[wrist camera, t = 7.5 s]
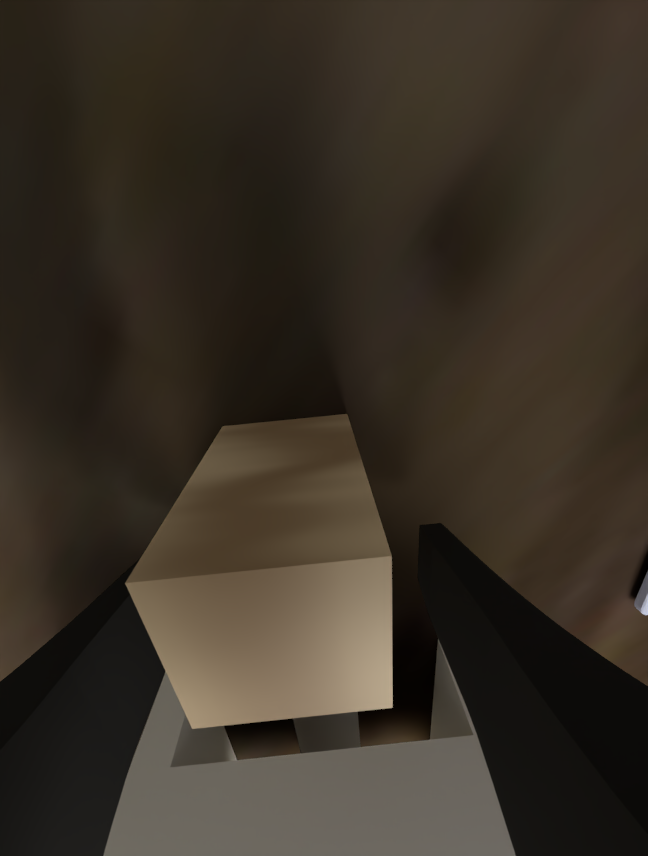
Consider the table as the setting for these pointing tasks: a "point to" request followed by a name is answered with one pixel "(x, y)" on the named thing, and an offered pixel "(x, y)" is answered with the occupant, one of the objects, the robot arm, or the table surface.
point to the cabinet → (310, 792)
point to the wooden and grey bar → (274, 584)
